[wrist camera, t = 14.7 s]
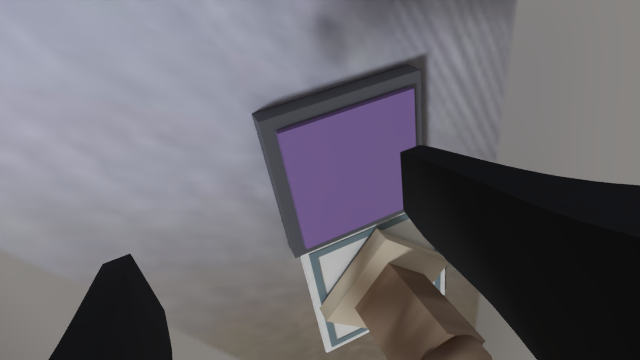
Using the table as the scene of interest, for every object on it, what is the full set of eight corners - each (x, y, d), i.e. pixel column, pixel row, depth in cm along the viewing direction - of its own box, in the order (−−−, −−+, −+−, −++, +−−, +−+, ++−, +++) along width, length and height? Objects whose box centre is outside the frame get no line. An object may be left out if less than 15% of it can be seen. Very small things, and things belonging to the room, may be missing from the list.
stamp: (374, 225, 26) (464, 326, 19) (435, 250, 30) (529, 340, 23) (317, 305, 27) (383, 425, 21) (383, 318, 31) (456, 422, 25)
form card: (443, 188, 27) (447, 191, 27) (442, 292, 33) (445, 295, 33) (298, 248, 25) (300, 252, 24) (325, 349, 31) (327, 354, 31)
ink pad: (407, 64, 22) (425, 71, 20) (412, 195, 27) (427, 207, 25) (251, 113, 19) (260, 125, 18) (289, 246, 24) (297, 262, 23)
